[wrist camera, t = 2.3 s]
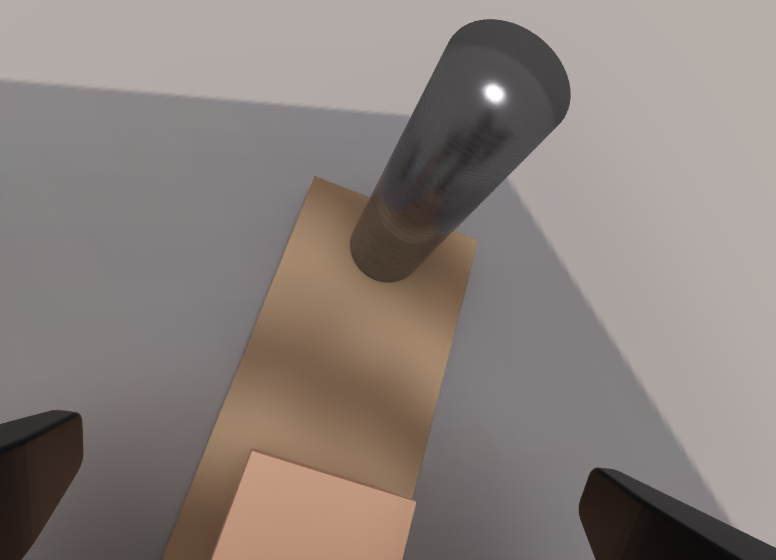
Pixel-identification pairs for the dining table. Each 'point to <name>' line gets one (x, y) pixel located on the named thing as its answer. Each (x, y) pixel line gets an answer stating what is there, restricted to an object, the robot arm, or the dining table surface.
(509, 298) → the dining table surface
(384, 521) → the cube
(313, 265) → the wooden base with cylinder
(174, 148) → the dining table surface
